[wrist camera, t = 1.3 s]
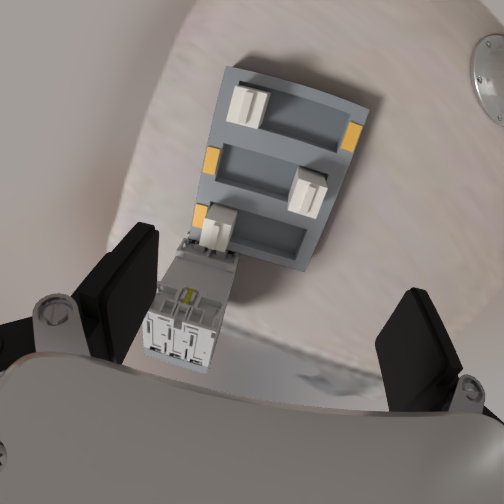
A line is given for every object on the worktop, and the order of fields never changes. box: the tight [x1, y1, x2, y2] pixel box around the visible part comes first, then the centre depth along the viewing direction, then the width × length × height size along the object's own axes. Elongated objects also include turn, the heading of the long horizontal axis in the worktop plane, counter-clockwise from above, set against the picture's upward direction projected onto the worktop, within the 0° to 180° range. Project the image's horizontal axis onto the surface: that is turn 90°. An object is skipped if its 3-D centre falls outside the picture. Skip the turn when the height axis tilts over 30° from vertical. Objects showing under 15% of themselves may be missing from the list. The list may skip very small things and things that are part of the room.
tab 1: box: [199, 202, 239, 252], centre depth 34 cm, size 4×3×5 cm
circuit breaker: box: [143, 233, 240, 374], centre depth 37 cm, size 8×14×15 cm, turn 167°
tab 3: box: [288, 166, 328, 219], centre depth 31 cm, size 4×3×5 cm
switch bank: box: [189, 66, 370, 272], centre depth 33 cm, size 21×15×3 cm
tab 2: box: [226, 86, 271, 129], centre depth 27 cm, size 4×3×5 cm
